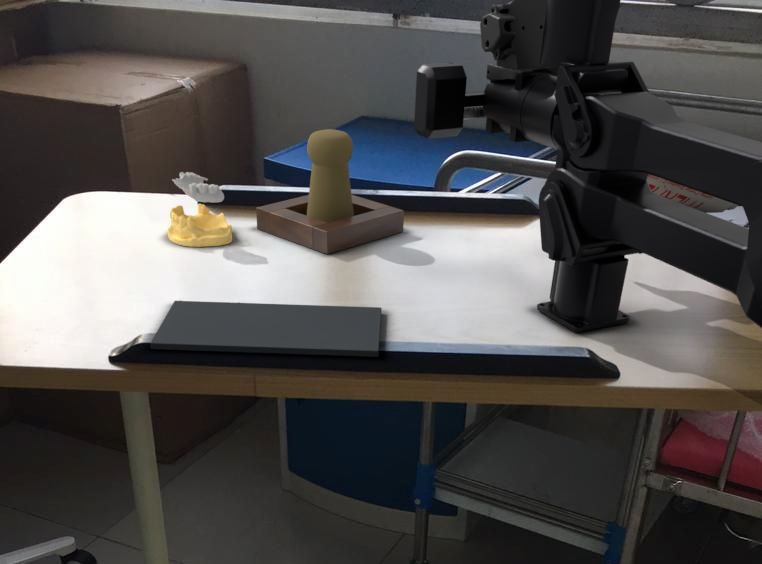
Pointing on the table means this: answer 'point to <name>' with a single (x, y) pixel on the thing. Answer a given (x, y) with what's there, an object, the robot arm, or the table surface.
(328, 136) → the cork
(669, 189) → the thermos bottle
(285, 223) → the square wooden frame
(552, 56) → the robot arm
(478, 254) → the table surface
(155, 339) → the slate mat
